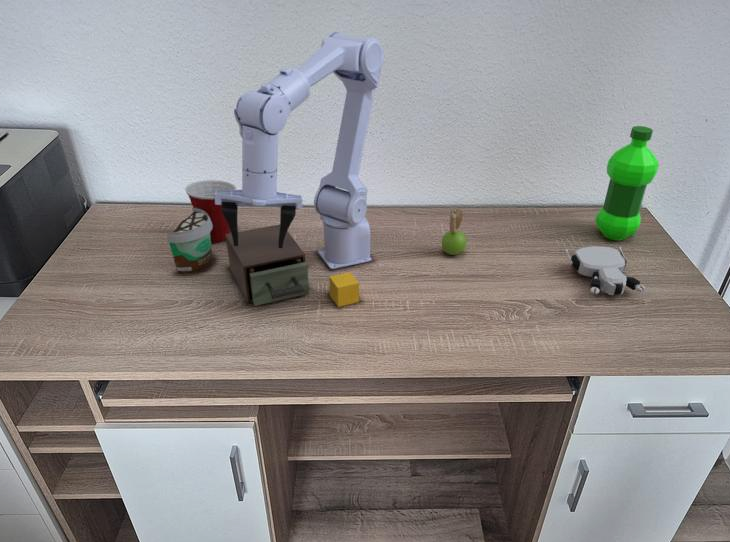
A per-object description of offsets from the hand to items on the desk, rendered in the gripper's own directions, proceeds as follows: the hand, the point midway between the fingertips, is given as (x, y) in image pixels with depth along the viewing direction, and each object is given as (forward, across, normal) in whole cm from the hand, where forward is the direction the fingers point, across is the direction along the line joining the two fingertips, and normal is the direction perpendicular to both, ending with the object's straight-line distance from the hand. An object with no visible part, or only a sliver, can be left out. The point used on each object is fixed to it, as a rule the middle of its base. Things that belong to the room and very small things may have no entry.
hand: (258, 245), depth 109 cm
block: (+12, +17, +3) cm, 21 cm away
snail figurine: (+7, +42, +18) cm, 46 cm away
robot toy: (+6, +70, +3) cm, 70 cm away
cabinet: (+12, +2, +12) cm, 17 cm away
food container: (+13, -12, +20) cm, 26 cm away
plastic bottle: (+2, +82, +22) cm, 85 cm away
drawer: (+12, +3, +7) cm, 14 cm away
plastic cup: (+11, -9, +32) cm, 35 cm away
